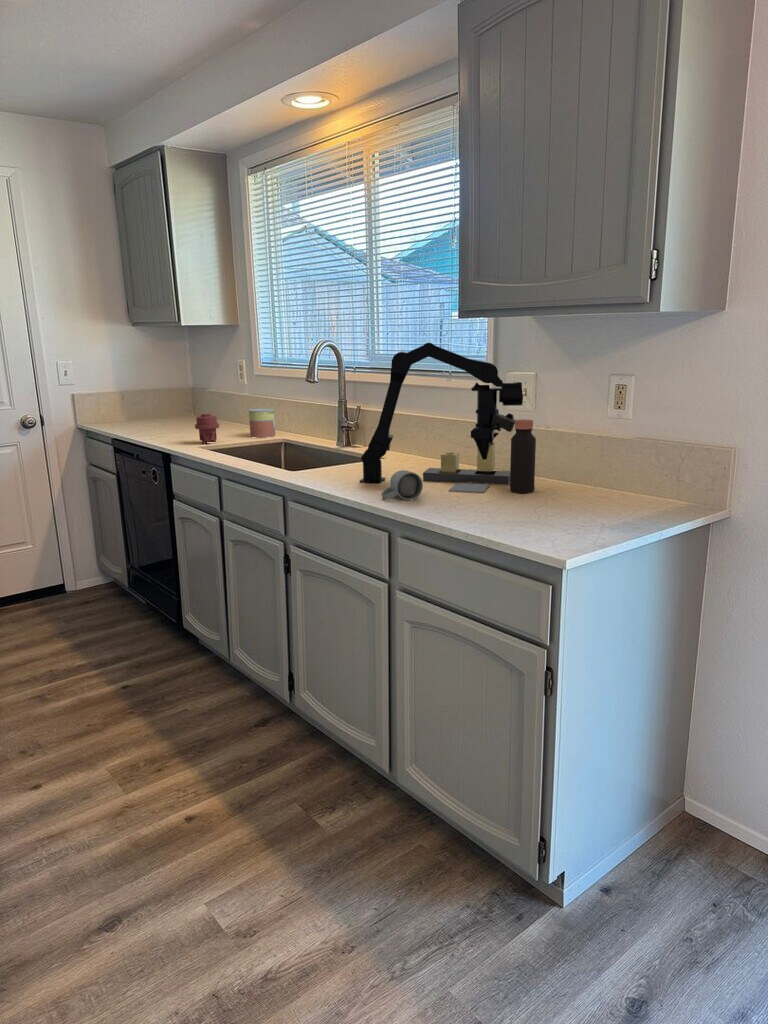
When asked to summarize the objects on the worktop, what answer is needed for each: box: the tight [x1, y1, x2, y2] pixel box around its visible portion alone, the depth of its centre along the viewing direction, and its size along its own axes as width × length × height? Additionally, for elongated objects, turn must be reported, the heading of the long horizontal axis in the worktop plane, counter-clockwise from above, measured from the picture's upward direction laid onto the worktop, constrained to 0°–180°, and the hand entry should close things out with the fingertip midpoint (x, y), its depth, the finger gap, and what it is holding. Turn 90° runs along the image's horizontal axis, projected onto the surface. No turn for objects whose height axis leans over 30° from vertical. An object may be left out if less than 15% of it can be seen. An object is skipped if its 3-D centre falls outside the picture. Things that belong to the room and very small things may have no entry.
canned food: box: [248, 407, 277, 439], centre depth 317 cm, size 11×11×12 cm
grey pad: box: [448, 482, 491, 494], centre depth 205 cm, size 10×10×1 cm
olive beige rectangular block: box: [476, 441, 496, 471], centre depth 213 cm, size 5×5×8 cm
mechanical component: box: [194, 413, 220, 444], centre depth 300 cm, size 12×10×10 cm
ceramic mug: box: [380, 469, 423, 501], centre depth 194 cm, size 11×8×8 cm
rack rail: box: [422, 467, 510, 485], centre depth 216 cm, size 8×26×2 cm, turn 72°
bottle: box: [509, 419, 537, 494], centre depth 198 cm, size 7×7×20 cm
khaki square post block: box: [440, 451, 460, 473], centre depth 217 cm, size 5×5×8 cm
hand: (486, 458), depth 213 cm, fingers closed on olive beige rectangular block, 5 cm apart
